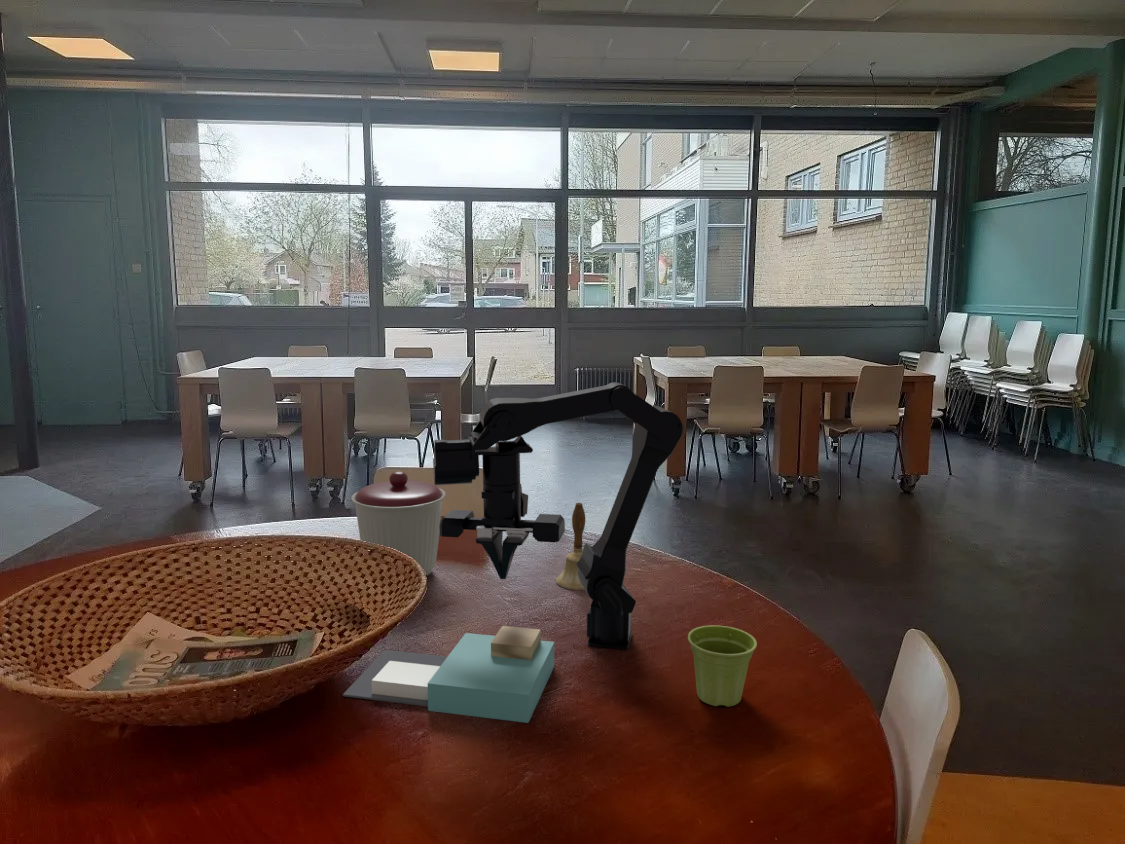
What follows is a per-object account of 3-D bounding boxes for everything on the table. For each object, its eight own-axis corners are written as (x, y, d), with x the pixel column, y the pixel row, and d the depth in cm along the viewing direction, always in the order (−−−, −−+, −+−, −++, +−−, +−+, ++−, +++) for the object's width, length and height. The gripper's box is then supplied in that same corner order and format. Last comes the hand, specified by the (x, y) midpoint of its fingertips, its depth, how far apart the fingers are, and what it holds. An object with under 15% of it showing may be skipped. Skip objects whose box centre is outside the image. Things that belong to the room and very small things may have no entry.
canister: (335, 584, 151) (330, 477, 147) (387, 555, 168) (384, 458, 164) (417, 597, 145) (414, 486, 141) (462, 565, 161) (461, 466, 158)
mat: (463, 660, 120) (463, 658, 120) (430, 706, 107) (430, 704, 107) (385, 651, 123) (385, 649, 123) (342, 696, 110) (342, 694, 109)
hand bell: (606, 580, 154) (607, 501, 152) (584, 593, 147) (585, 511, 145) (570, 571, 159) (571, 495, 156) (547, 584, 152) (548, 504, 149)
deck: (554, 666, 119) (554, 641, 118) (528, 722, 103) (528, 694, 103) (466, 657, 121) (465, 633, 121) (428, 710, 106) (427, 683, 105)
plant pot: (710, 673, 117) (713, 619, 116) (766, 697, 110) (769, 639, 109) (672, 695, 110) (674, 638, 109) (728, 722, 104) (731, 661, 102)
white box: (447, 679, 114) (447, 667, 113) (432, 700, 108) (432, 687, 108) (389, 673, 116) (389, 660, 115) (372, 693, 110) (371, 680, 109)
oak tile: (540, 642, 118) (540, 629, 118) (531, 660, 112) (531, 647, 112) (502, 638, 119) (502, 625, 119) (490, 655, 113) (490, 643, 113)
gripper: (570, 471, 126) (571, 564, 129) (459, 467, 129) (461, 557, 132) (557, 488, 115) (558, 589, 118) (436, 484, 118) (440, 582, 121)
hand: (503, 578), depth 122 cm, fingers closed
